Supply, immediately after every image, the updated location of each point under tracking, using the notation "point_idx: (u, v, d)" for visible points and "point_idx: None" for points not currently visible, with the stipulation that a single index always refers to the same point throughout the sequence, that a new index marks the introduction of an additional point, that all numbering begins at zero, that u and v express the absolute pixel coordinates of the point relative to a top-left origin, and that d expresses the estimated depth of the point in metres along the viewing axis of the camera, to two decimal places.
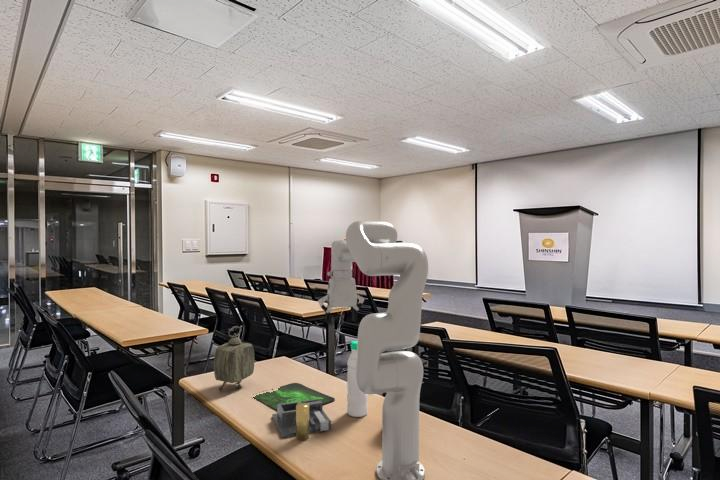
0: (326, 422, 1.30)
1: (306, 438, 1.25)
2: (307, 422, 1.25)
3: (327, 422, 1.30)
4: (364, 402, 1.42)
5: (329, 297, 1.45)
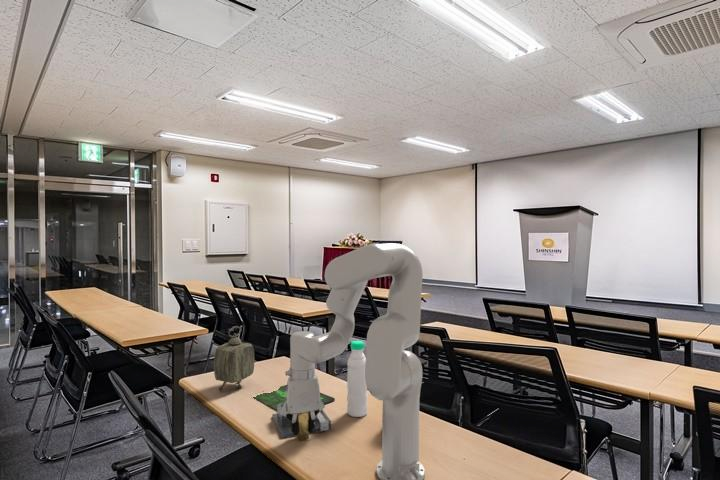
0: (326, 422, 1.30)
1: (306, 438, 1.25)
2: (307, 422, 1.25)
3: (327, 422, 1.30)
4: (364, 402, 1.42)
5: (287, 402, 1.23)
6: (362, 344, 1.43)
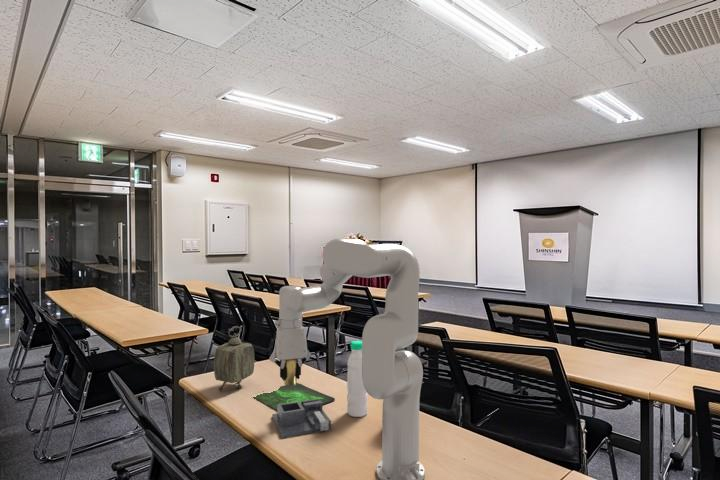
0: (326, 422, 1.30)
1: (293, 383, 1.36)
2: (294, 368, 1.36)
3: (327, 422, 1.30)
4: (364, 402, 1.42)
5: (276, 349, 1.34)
6: None
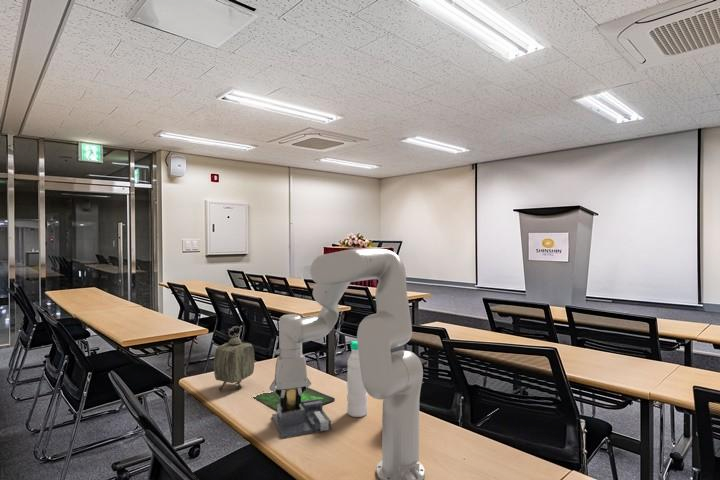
0: (326, 422, 1.30)
1: None
2: (294, 397, 1.36)
3: (327, 422, 1.30)
4: (364, 402, 1.42)
5: (276, 378, 1.34)
6: None
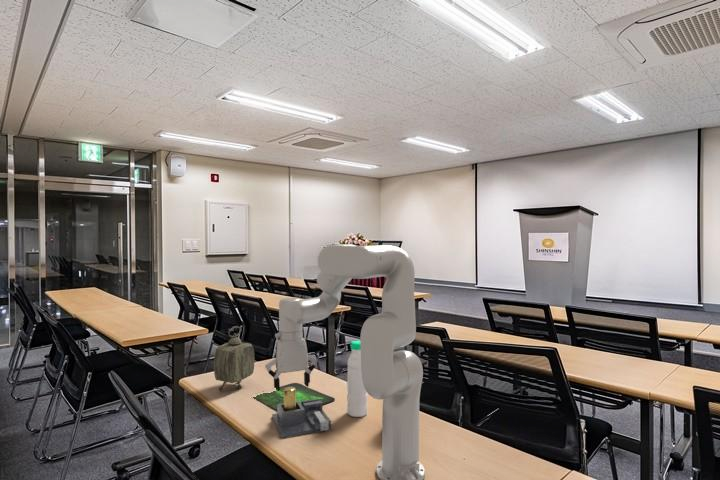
0: (326, 422, 1.30)
1: None
2: (294, 404, 1.36)
3: (327, 422, 1.30)
4: (364, 402, 1.42)
5: (277, 361, 1.34)
6: None
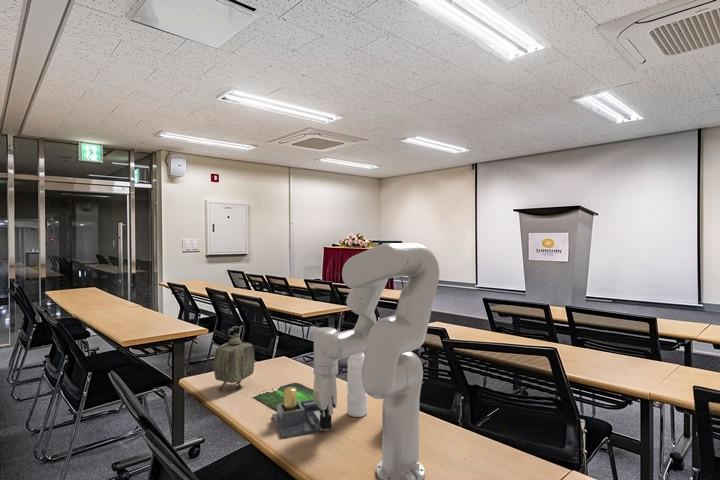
0: None
1: None
2: (294, 404, 1.36)
3: None
4: (364, 402, 1.42)
5: None
6: None
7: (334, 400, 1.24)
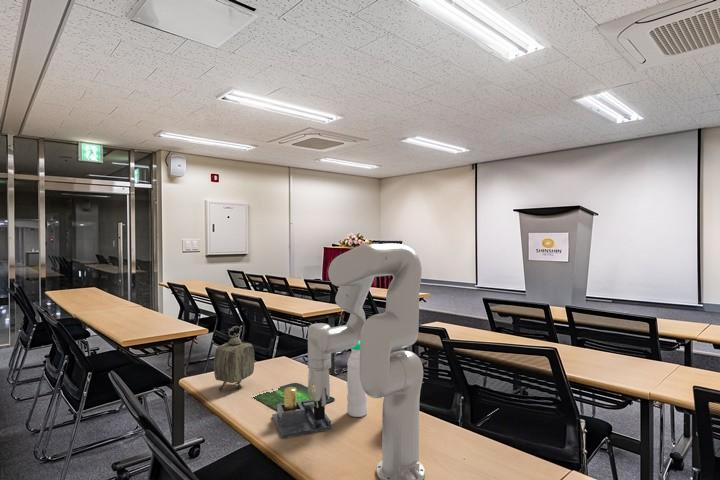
0: None
1: None
2: (294, 404, 1.36)
3: None
4: (364, 402, 1.42)
5: None
6: None
7: (327, 392, 1.30)
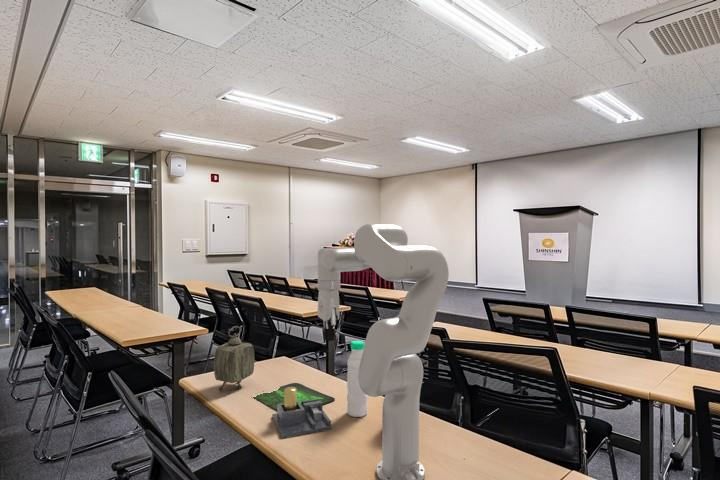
0: (319, 413, 1.36)
1: None
2: (294, 404, 1.36)
3: (320, 413, 1.36)
4: (364, 402, 1.42)
5: None
6: (362, 344, 1.43)
7: (337, 312, 1.34)
